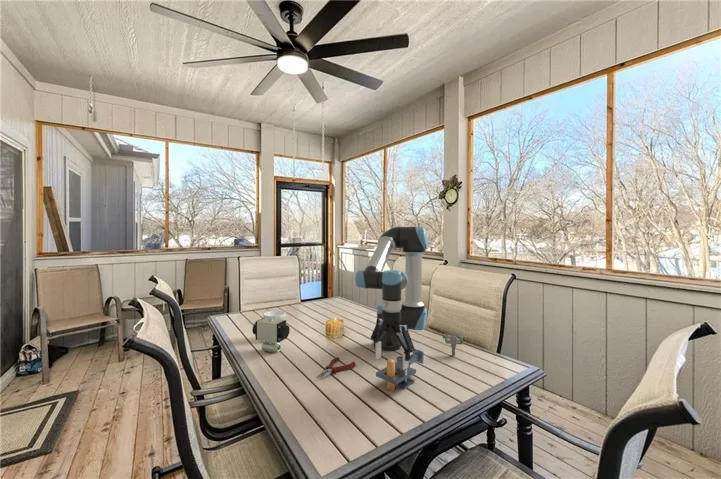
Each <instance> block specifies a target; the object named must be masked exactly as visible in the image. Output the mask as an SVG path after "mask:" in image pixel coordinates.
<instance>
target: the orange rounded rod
mask: <svg viewBox="0 0 721 479" xmlns="http://www.w3.org/2000/svg"><path fill="white" fill-rule="evenodd" d="M395 363H396V360H394V359H387V361H386V367H387V376H390V377H394V376H395ZM386 390H387V391H391V392H392V391H395V390H396V385H395V384H393V383H390V382H388V381H386Z"/></svg>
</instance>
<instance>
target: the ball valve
mask: <svg viewBox="0 0 721 479" xmlns="http://www.w3.org/2000/svg"><path fill="white" fill-rule="evenodd" d="M290 330H291V329H290V325H288V323H287V319H284V320H280V319H272V317H270V318H264V317H263V318H260V319H258V320H256V321H255V322H254V323H253V326H252V333H253V335H254V337H255V341H262V343H261V350H262V351H264V352H269V353H279V352H280V351H281V348H282V347H281V344H280V343H281V342H283V341H285V340H286V339H287V338H288V337H289V335H290V332H291V331H290Z"/></svg>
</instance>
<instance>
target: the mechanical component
mask: <svg viewBox="0 0 721 479" xmlns="http://www.w3.org/2000/svg"><path fill="white" fill-rule="evenodd" d="M442 339H444V342H445V343H446V344H450V347H451V356H452V357H455V356H456V348H457V345H459V346H460V345H463V343H464V341H465V336H463V335H461V336H460V338H459V337H458V336H457V335H456V334H446V333H444V335H442Z"/></svg>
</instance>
